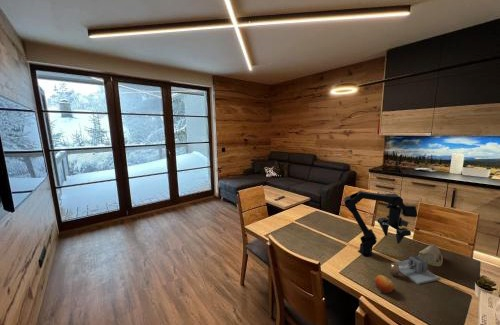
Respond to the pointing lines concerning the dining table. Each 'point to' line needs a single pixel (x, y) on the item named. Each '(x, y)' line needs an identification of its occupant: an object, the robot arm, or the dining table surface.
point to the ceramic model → (432, 255)
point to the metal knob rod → (399, 268)
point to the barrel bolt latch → (418, 270)
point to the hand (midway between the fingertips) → (391, 239)
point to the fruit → (384, 284)
